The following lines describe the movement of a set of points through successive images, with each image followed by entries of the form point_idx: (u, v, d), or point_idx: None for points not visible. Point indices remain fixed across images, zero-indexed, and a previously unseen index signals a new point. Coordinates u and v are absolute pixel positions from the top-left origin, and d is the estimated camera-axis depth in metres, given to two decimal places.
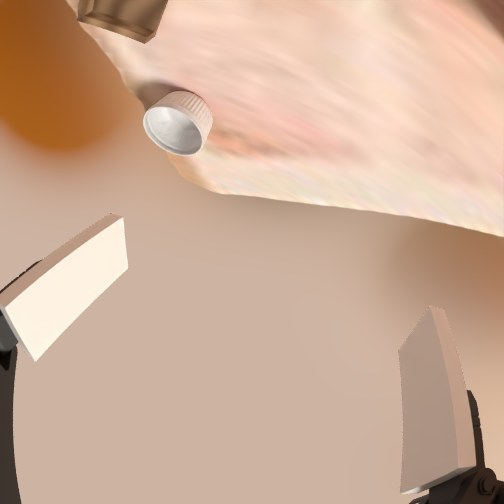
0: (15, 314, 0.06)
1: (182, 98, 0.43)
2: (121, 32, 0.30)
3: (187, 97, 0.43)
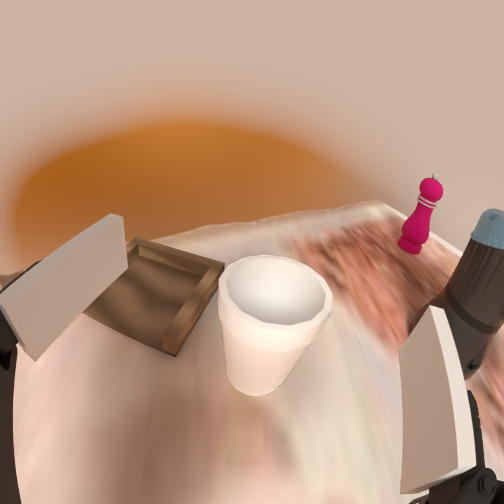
0: (15, 314, 0.06)
1: None
2: None
3: None
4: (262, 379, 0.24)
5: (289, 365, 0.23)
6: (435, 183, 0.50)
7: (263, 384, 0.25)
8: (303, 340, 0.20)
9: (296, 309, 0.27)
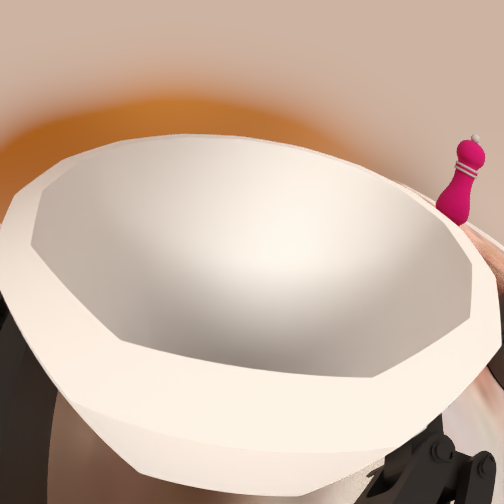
0: None
1: None
2: None
3: None
4: None
5: None
6: (477, 145, 0.33)
7: None
8: None
9: (325, 294, 0.10)
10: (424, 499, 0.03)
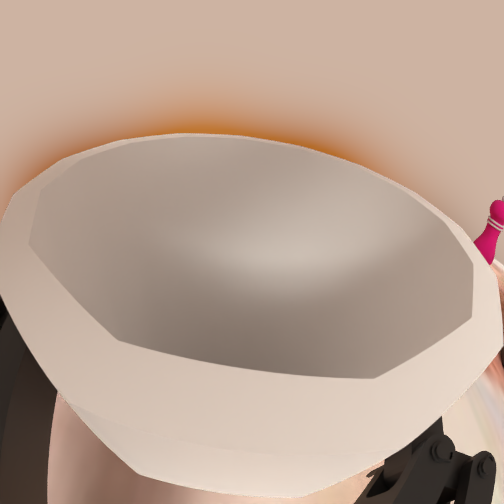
0: None
1: None
2: None
3: None
4: None
5: None
6: None
7: None
8: None
9: (325, 294, 0.09)
10: (424, 499, 0.03)
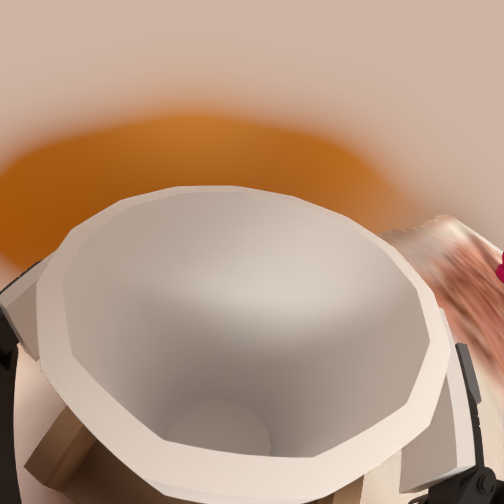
0: (16, 314, 0.06)
1: None
2: None
3: None
4: None
5: None
6: None
7: None
8: None
9: (311, 331, 0.10)
10: None
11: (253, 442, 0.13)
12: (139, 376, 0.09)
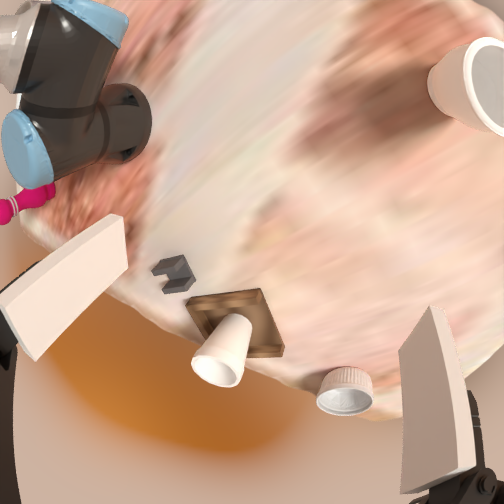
0: (15, 314, 0.06)
1: (336, 376, 0.54)
2: (258, 356, 0.57)
3: (339, 373, 0.54)
4: (244, 336, 0.52)
5: (232, 337, 0.49)
6: None
7: (244, 331, 0.52)
8: (227, 355, 0.45)
9: None
10: None
11: None
12: None
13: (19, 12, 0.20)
